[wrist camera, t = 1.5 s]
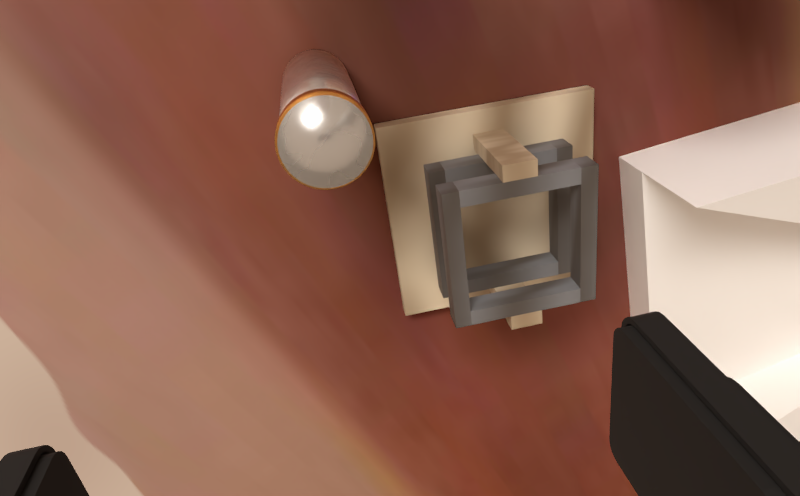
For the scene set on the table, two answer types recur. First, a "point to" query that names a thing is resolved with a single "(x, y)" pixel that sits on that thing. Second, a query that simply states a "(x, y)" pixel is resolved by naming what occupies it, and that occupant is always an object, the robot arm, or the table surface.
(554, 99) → the collar stand
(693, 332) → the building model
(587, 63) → the table surface
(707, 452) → the robot arm
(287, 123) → the steel tube
